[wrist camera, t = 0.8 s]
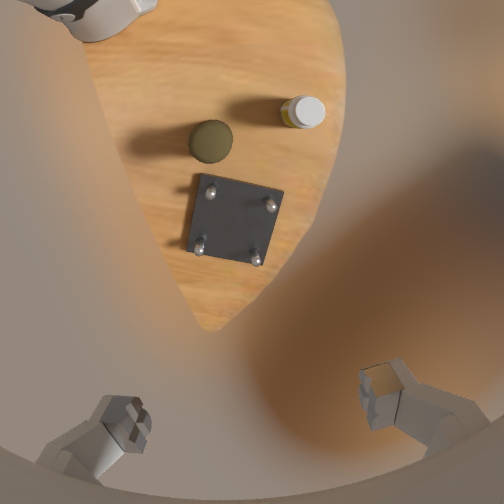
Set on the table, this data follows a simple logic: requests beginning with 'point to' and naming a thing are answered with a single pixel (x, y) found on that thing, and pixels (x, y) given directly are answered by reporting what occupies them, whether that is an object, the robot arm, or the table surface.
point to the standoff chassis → (233, 219)
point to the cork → (210, 141)
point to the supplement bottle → (302, 112)
